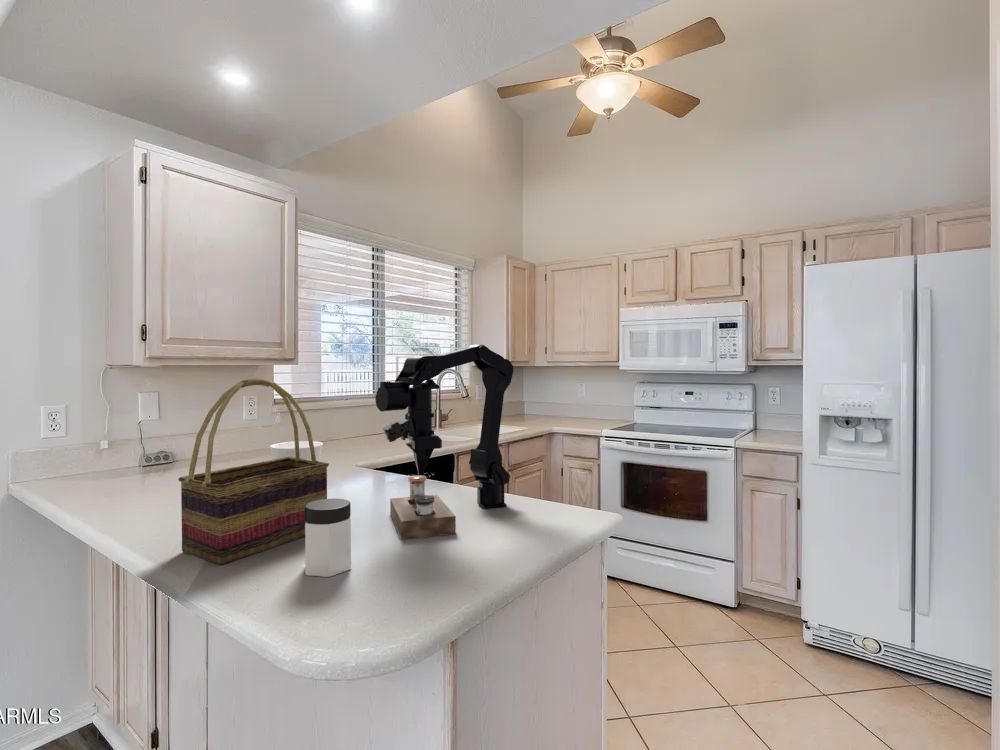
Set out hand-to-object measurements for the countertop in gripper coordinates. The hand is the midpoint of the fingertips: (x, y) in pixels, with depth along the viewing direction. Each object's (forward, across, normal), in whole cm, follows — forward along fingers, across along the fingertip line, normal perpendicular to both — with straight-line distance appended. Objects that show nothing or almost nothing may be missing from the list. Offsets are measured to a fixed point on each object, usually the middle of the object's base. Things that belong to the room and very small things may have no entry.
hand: (420, 473), depth 122 cm
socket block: (+12, +1, 0) cm, 12 cm away
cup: (+12, -31, -28) cm, 44 cm away
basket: (+12, 0, -35) cm, 37 cm away
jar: (+12, +21, -22) cm, 33 cm away
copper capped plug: (+8, -4, 0) cm, 9 cm away
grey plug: (+11, +6, 0) cm, 13 cm away
